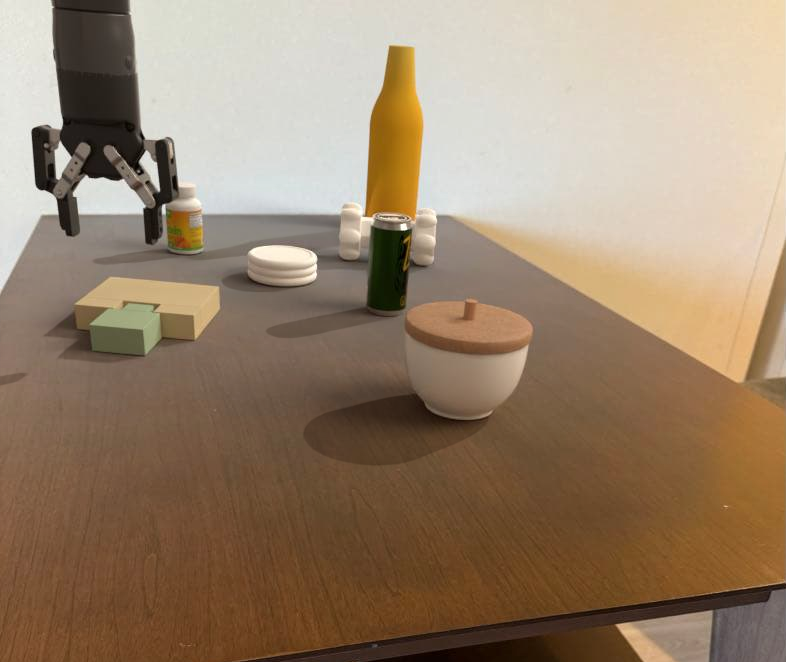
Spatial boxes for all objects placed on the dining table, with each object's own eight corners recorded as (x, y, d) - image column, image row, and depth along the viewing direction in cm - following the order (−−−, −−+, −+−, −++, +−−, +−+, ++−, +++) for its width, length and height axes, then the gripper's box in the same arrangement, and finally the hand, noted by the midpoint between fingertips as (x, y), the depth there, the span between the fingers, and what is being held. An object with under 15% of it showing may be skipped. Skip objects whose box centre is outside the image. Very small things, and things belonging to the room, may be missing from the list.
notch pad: (77, 329, 100) (73, 304, 98) (112, 299, 110) (110, 276, 108) (195, 340, 99) (193, 315, 98) (220, 309, 109) (219, 286, 108)
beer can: (366, 315, 112) (371, 220, 105) (365, 303, 116) (370, 211, 110) (406, 317, 112) (414, 223, 106) (404, 305, 117) (412, 213, 110)
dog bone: (431, 257, 140) (436, 205, 136) (433, 271, 133) (438, 216, 128) (340, 250, 139) (342, 198, 135) (337, 264, 132) (339, 209, 128)
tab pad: (145, 356, 94) (143, 329, 92) (92, 351, 94) (88, 324, 93) (168, 331, 101) (166, 306, 100) (118, 326, 101) (115, 301, 100)
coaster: (258, 289, 118) (258, 263, 116) (239, 269, 126) (238, 245, 124) (326, 285, 122) (327, 260, 120) (303, 267, 129) (304, 243, 127)
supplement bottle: (160, 250, 132) (155, 183, 127) (186, 244, 136) (182, 179, 130) (185, 257, 129) (181, 189, 124) (210, 251, 133) (208, 185, 128)
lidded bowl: (515, 439, 82) (534, 328, 77) (388, 421, 84) (396, 311, 78) (522, 391, 93) (538, 291, 87) (408, 376, 94) (417, 276, 89)
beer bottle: (353, 227, 154) (361, 42, 138) (391, 223, 159) (403, 44, 144) (387, 239, 148) (400, 48, 133) (425, 233, 154) (441, 49, 138)
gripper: (181, 71, 85) (188, 238, 93) (41, 56, 85) (61, 224, 94) (157, 75, 78) (167, 255, 87) (6, 60, 79) (31, 240, 87)
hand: (112, 239), depth 90 cm, fingers open, 8 cm apart
